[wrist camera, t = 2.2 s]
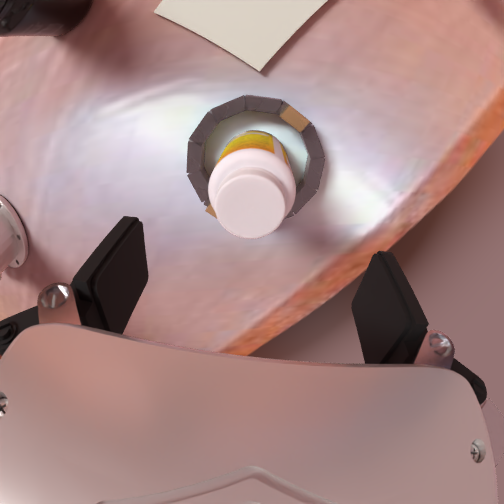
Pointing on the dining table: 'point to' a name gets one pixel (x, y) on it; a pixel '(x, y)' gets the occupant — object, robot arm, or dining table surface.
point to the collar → (260, 104)
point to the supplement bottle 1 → (41, 16)
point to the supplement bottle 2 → (252, 185)
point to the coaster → (242, 23)
